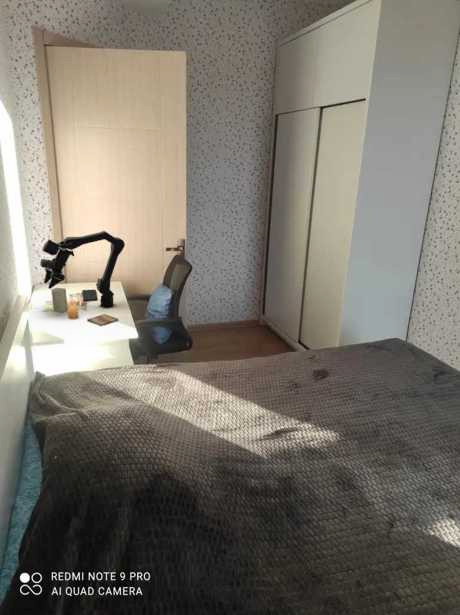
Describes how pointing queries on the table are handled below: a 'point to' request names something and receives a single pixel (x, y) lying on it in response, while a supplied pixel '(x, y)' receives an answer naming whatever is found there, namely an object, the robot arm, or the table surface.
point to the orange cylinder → (73, 312)
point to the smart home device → (89, 295)
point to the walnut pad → (102, 320)
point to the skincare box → (59, 299)
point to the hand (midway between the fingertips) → (47, 285)
